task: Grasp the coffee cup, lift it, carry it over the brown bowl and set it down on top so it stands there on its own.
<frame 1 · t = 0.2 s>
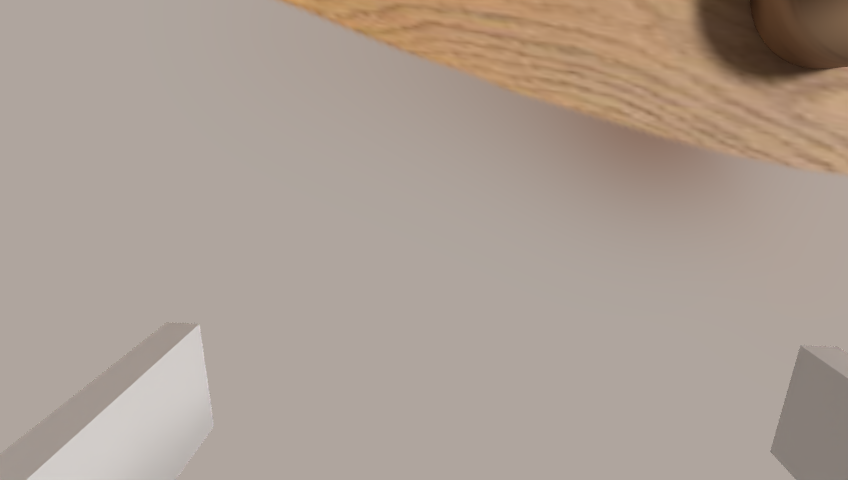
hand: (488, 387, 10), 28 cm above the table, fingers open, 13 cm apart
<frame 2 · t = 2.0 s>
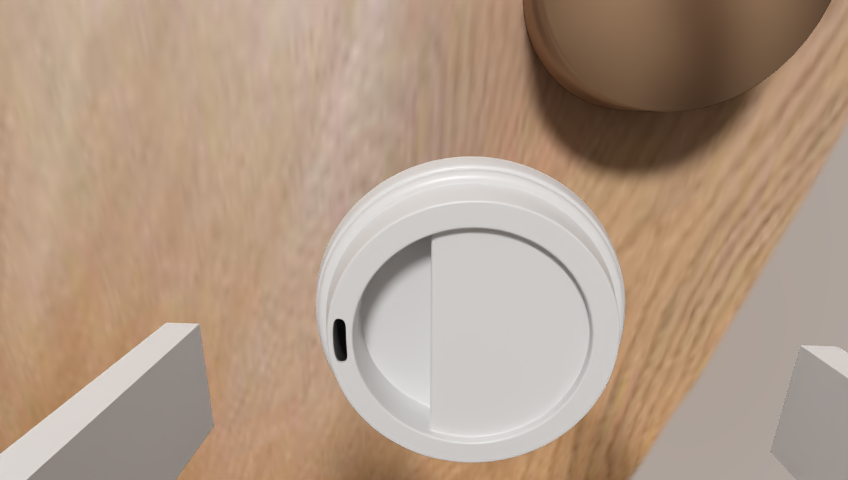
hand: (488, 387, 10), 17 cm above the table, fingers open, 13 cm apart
coffee cup: (455, 213, 27), on the table
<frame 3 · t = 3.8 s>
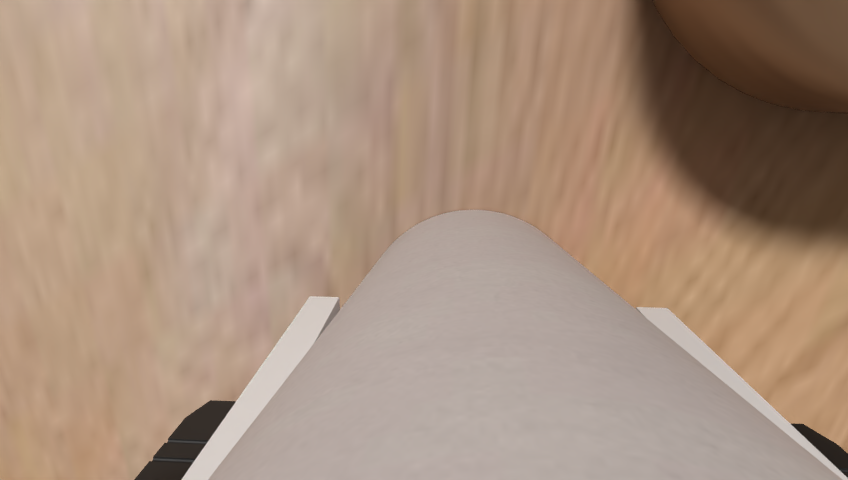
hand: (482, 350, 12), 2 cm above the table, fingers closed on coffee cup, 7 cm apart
coffee cup: (471, 310, 14), on the table, touching gripper
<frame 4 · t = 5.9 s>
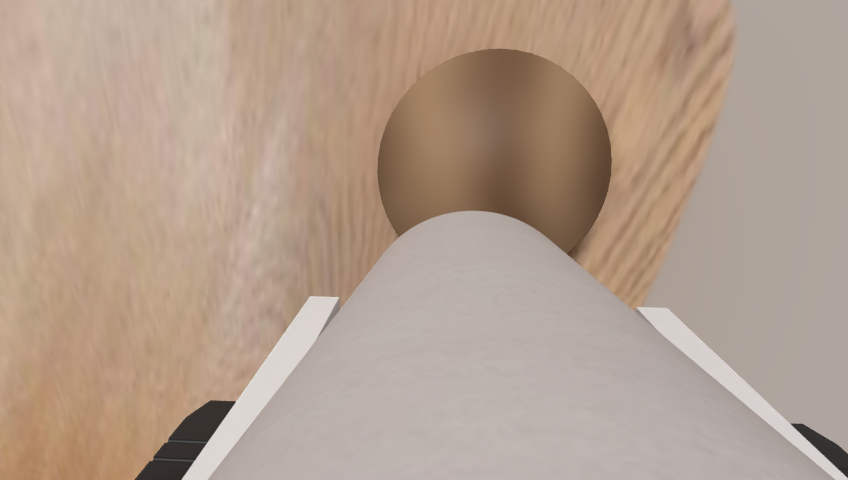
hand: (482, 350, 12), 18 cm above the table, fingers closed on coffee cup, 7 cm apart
coffee cup: (470, 311, 14), point 16 cm above the table, touching gripper
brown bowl: (484, 162, 28), on the table
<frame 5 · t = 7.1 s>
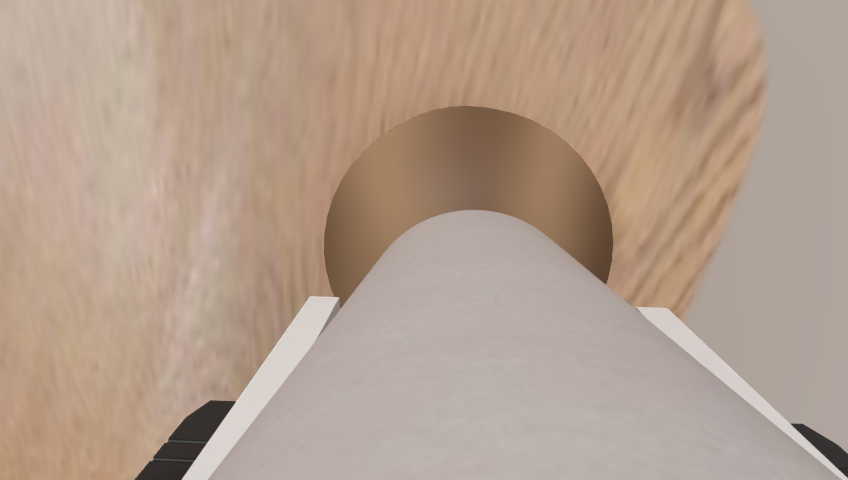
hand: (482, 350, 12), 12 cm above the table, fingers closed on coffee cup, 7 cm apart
coffee cup: (471, 311, 14), point 10 cm above the table, touching gripper
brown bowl: (462, 225, 24), on the table
when the fingers open (9 cm above the table, at t = 8.2 s): coffee cup drops 2 cm, resting on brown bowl.
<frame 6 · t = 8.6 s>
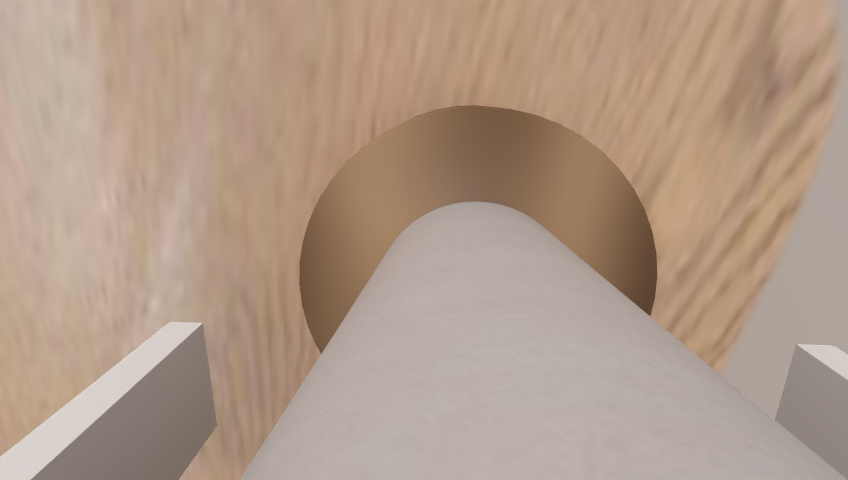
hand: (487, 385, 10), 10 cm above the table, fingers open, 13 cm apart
coffee cup: (472, 292, 16), point 5 cm above the table, touching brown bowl
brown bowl: (467, 246, 20), on the table, touching coffee cup
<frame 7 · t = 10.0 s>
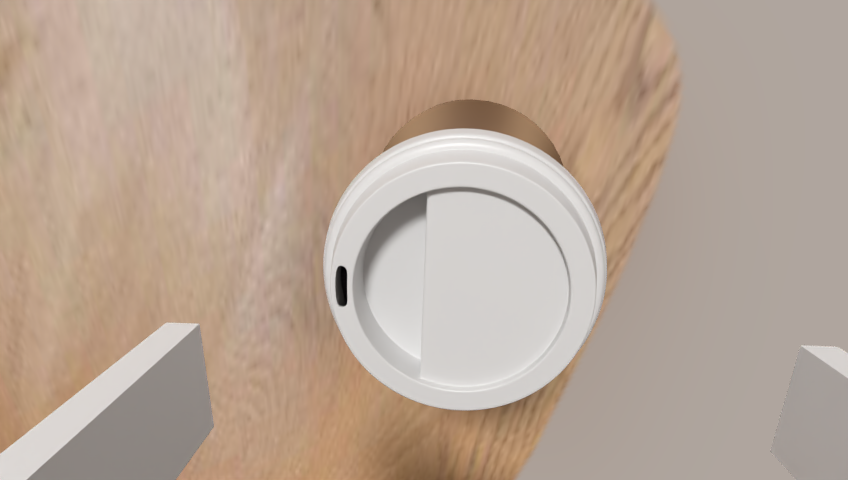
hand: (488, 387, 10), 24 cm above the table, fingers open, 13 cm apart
coffee cup: (466, 203, 28), point 5 cm above the table, touching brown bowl
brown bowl: (465, 186, 33), on the table, touching coffee cup
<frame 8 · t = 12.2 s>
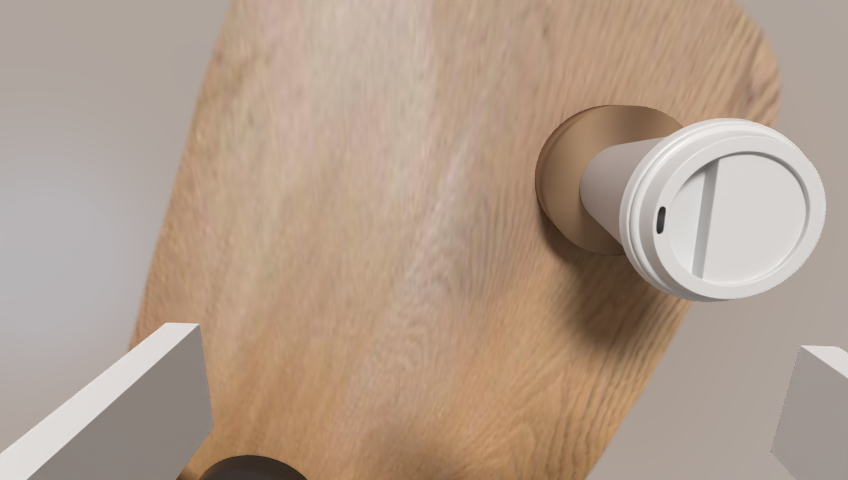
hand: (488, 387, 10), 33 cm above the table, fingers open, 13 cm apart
coffee cup: (620, 185, 37), point 5 cm above the table
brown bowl: (601, 174, 41), on the table
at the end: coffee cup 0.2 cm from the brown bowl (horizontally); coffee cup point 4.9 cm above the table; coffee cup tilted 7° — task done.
